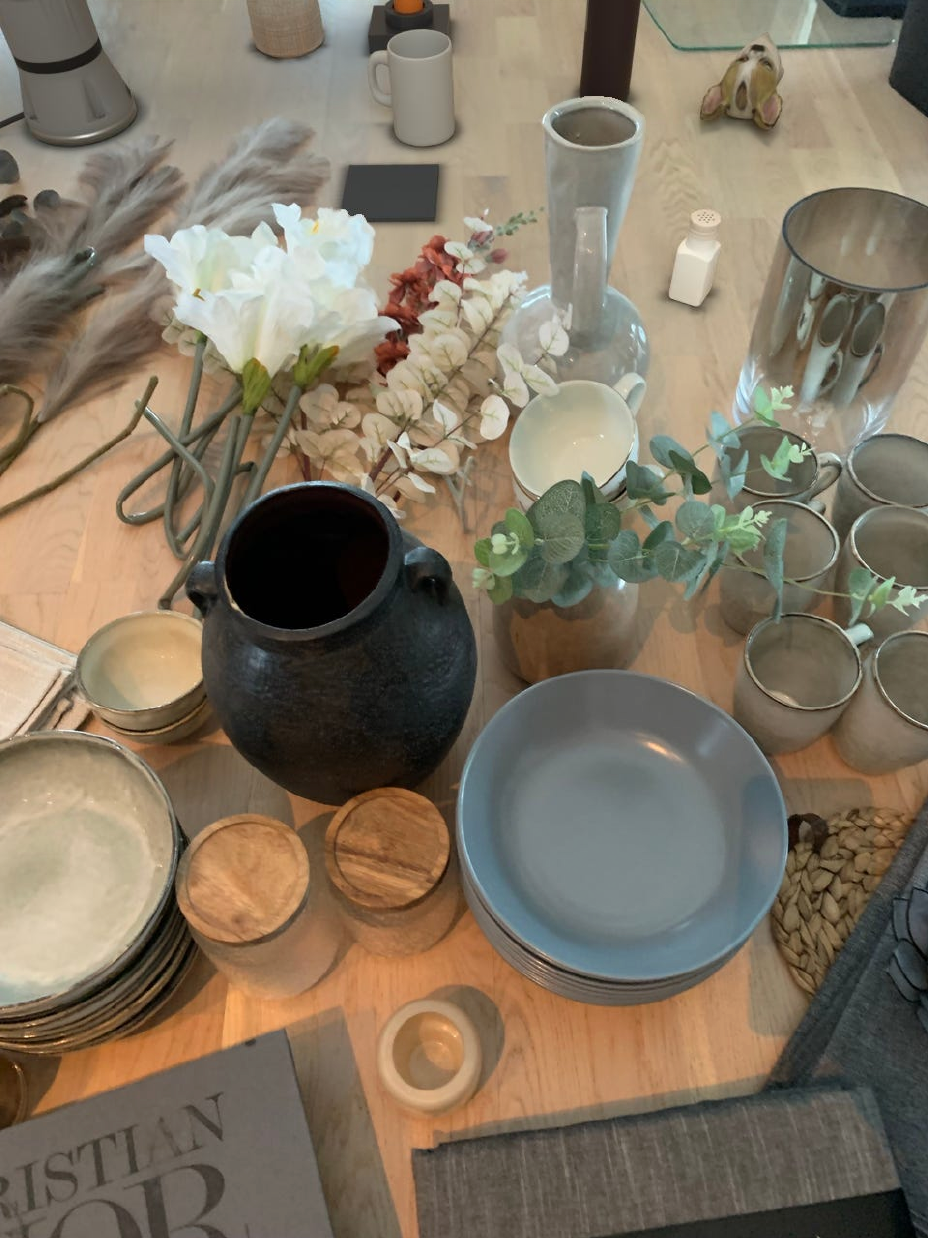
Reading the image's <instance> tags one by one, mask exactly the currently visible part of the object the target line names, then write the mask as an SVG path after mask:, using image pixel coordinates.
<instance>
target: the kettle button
mask: <svg viewBox="0 0 928 1238" xmlns="http://www.w3.org/2000/svg"><path fill="white" fill-rule="evenodd" d="M422 9H423V0H394V10H395V11H396V12H400V13H414V12H418V11H420V10H422Z"/></svg>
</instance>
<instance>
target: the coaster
mask: <svg viewBox="0 0 928 1238" xmlns="http://www.w3.org/2000/svg"><path fill="white" fill-rule="evenodd" d="M439 166H440V165H439V164H438V163H432V164H431V163H419V164H418V163H417V164H416V163H415V164H414V163H413V164H412V163H411V164H409V163H408V164H349V165H348V167H347V172H346V173H347V175H346V179H345V184H344V190H343V197H342V200H341V201H342V202H341V206H340V210H341V209H346V210H347V211H348V214H349V215H350V216H354V215H356V214H362V215H364V217H365V218H366V220H367V222H435V221H436V209H437V195H438V184H439V170H440V167H439Z"/></svg>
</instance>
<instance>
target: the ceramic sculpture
mask: <svg viewBox="0 0 928 1238" xmlns="http://www.w3.org/2000/svg"><path fill="white" fill-rule="evenodd" d="M784 72H785V69H784V65H783V61H782V56H781V54H780V52H779V49H778V46H777V45H776V44H775V42H774V41H773V40H772V39H771V36H770V33H769V32H767V31H765V32H763V34H762V35H760V36H759V37H757V38H755V39H753V40H752V41H749V42H748V43H747V44H746V45H745V46H744V47H743V48H742V49H741V50H740V51H738V53H737V54H736V55H735V58H734V59H732V60H731V61H730V63H729V65H728V67H727V69H726V72H724V73H725V74H724V75H723V77H722V79H721V81H720V82H719V83H717V84H715V85H712V86H711V87H710V88H709V89H708V90H707V93H705V94H704V96H703V97H702V103H701V107H700V111H699V119H700V120H702V121H710V120H711V121H712V120H716V119H719V118H720V117H722V116H723V114H724V113H726V114H727V115H728V116H730V117H732V118H737V119H743V120H752V119H753V121H754V123H755V124H756V125H757V126H758V127H760V128H761V129H763V130H766V131H770V130H772V129H773V128H775V126H776V124H777V123H778V121H779V119H780V116H781V114H782V112H783V103H784V100H783V98H782V96H781V95H780V94H779V93H778V90H777V87H778V85H779V84H780V82H781V80H782V79H783V78H784V77H783V76H784Z"/></svg>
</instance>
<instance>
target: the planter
mask: <svg viewBox="0 0 928 1238" xmlns="http://www.w3.org/2000/svg"><path fill="white" fill-rule="evenodd" d="M245 1H246V6H247V12H248V16H249V23H250V27H251V32H252V38H253V41H254V42H253V43H254V46H255V47H256V49H258V50H259V51H260V52H261V53H263V54H265V55H267V56H269V57H273V58H278V59H290V58H297V57H302V56H305V55H307V54H310V53H312V52H314V51H315V50H317V48H318V47H320V45H321V44H322V43H323V41H324V35H325V34H324V27H323V21H322V14H321V9H320V8H321V7H320V3H319V0H245Z"/></svg>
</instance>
